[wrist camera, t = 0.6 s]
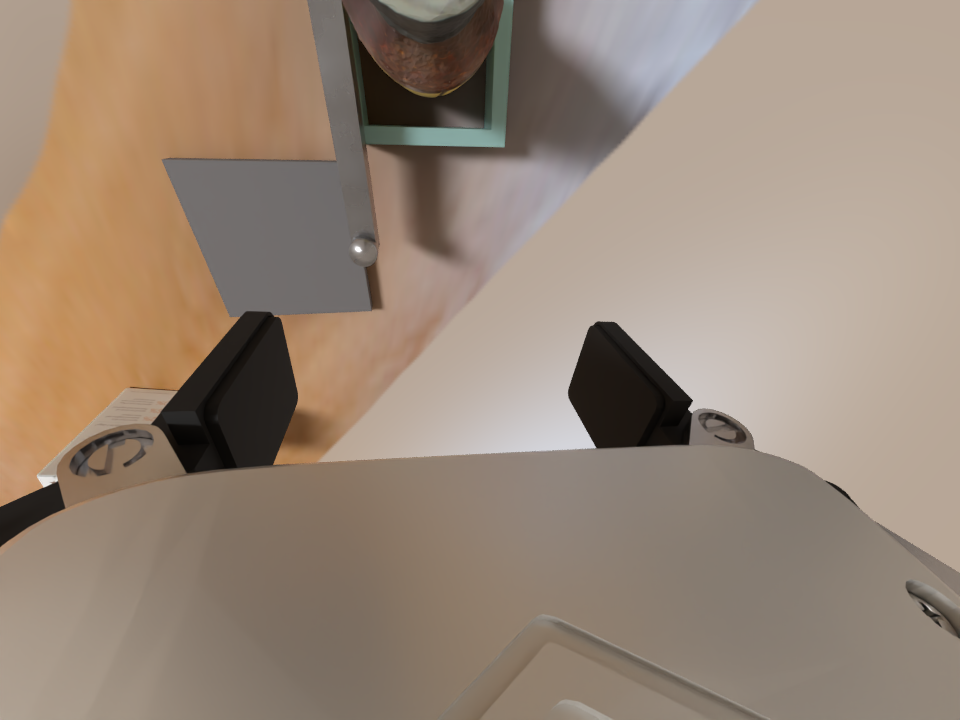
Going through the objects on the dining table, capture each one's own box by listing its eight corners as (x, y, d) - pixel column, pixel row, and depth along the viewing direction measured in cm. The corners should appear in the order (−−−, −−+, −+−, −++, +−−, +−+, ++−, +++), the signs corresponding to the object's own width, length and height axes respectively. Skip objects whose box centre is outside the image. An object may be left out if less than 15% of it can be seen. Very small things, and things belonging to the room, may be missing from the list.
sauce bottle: (464, -38, 21) (622, -506, 5) (479, 91, 25) (596, 54, 9) (357, -21, 21) (169, -460, 5) (388, 107, 25) (339, 98, 9)
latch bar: (336, -253, 14) (321, -327, 12) (394, 252, 26) (392, 266, 24) (242, -269, 14) (205, -350, 11) (344, 253, 26) (337, 267, 23)
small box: (142, 425, 37) (61, 519, 28) (126, 385, 34) (30, 476, 25) (229, 430, 39) (177, 519, 30) (221, 392, 36) (161, 478, 27)
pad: (348, 160, 26) (346, 162, 25) (372, 306, 33) (371, 311, 32) (169, 158, 24) (161, 159, 23) (234, 311, 31) (230, 317, 30)
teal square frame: (510, -149, 19) (528, -196, 16) (496, 143, 27) (506, 147, 24) (285, -182, 17) (259, -242, 14) (340, 140, 25) (331, 144, 22)
